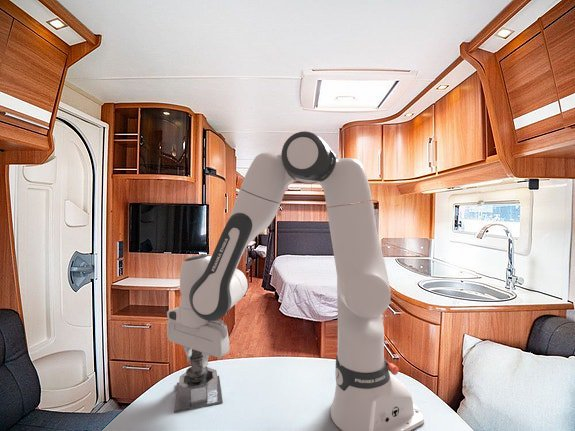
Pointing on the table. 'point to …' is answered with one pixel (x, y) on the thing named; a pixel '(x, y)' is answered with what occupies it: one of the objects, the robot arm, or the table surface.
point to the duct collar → (198, 392)
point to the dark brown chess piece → (196, 370)
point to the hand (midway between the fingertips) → (197, 363)
